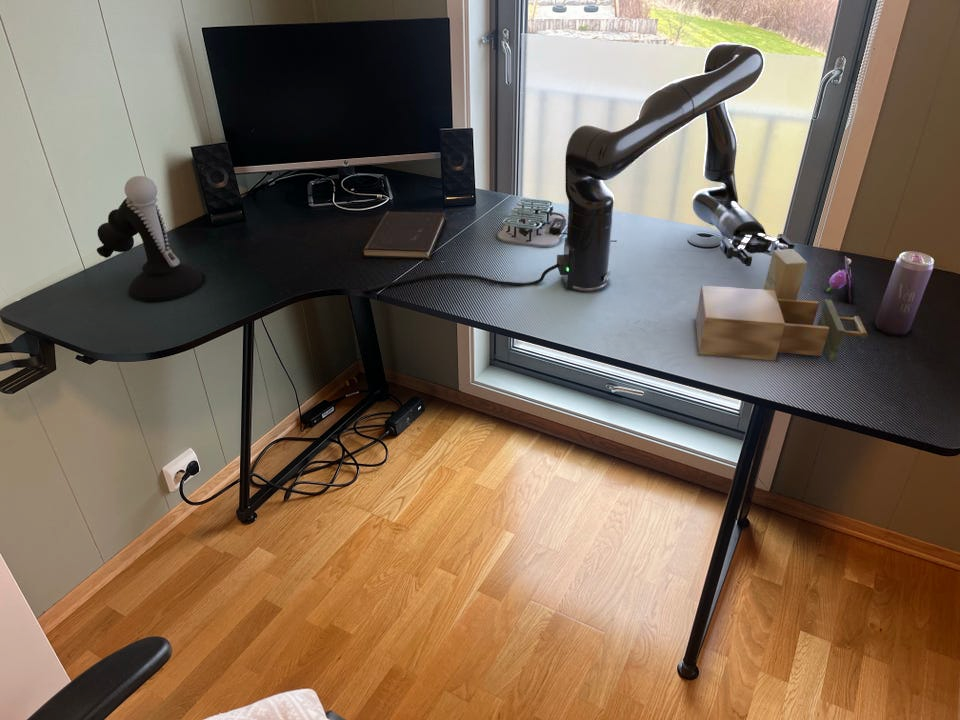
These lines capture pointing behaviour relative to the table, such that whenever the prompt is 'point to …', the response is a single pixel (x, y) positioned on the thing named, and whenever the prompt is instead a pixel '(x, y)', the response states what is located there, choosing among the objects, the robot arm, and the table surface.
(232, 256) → the table surface
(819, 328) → the drawer
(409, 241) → the hardcover book
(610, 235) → the robot arm
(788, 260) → the cosmetic box
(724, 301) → the cabinet
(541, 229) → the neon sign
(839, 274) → the purple figurine
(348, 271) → the table surface
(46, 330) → the table surface
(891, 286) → the beverage can
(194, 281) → the sculpture
